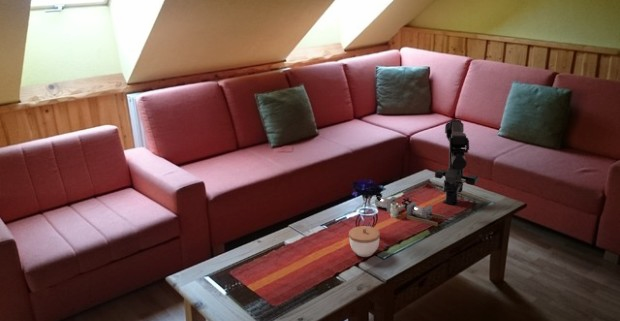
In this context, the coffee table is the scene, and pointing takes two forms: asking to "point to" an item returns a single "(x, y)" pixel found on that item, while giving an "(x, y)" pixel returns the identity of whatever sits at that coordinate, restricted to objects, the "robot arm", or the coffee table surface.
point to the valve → (398, 207)
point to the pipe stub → (385, 203)
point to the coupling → (419, 211)
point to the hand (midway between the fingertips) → (455, 194)
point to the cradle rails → (427, 220)
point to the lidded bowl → (364, 240)
